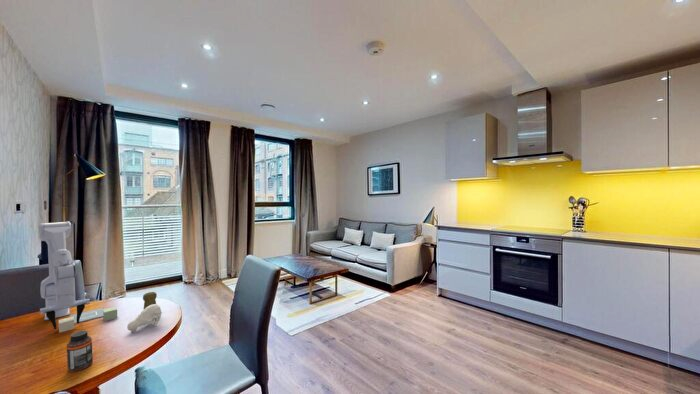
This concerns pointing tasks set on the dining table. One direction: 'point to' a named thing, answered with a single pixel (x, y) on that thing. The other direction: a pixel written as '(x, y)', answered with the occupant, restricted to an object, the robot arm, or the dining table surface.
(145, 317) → the white lumpy piece
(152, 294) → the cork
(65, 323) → the cream block
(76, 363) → the supplement bottle
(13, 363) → the dining table surface
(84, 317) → the plate
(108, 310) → the sage block
